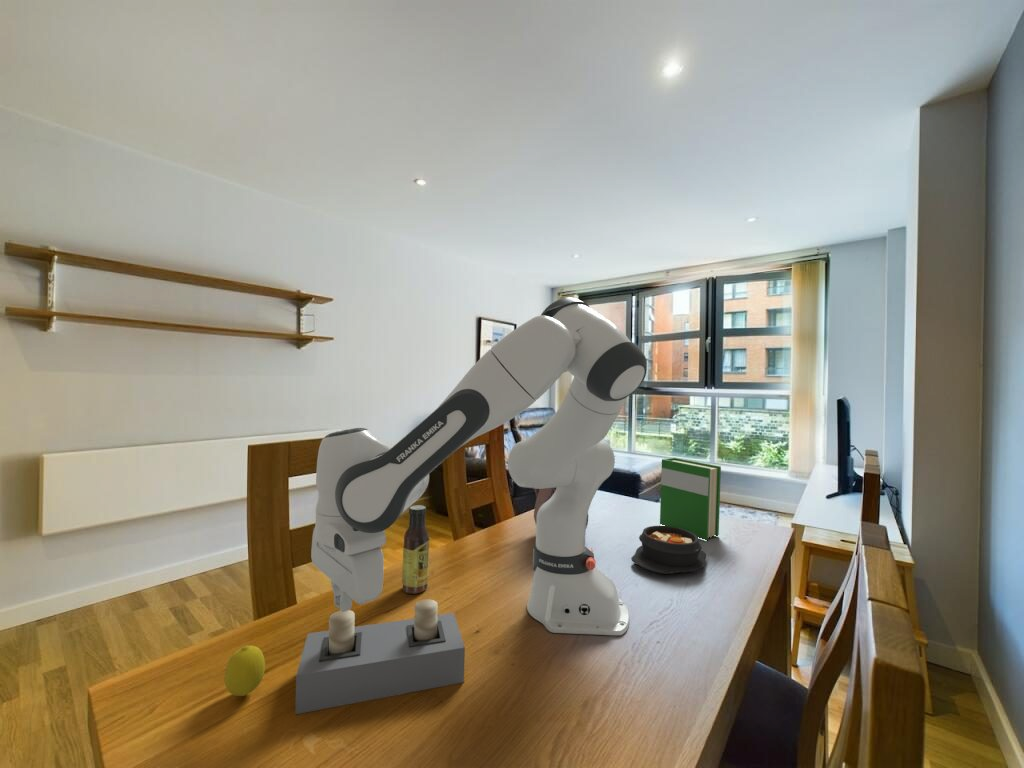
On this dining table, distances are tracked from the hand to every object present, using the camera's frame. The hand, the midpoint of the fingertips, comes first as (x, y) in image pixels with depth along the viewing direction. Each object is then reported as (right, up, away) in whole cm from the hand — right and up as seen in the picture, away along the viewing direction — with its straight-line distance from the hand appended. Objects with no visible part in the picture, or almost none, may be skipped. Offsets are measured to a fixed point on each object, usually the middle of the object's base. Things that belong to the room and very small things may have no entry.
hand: (342, 607), depth 72 cm
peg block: (+6, -13, +3) cm, 15 cm away
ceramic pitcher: (+43, -13, +68) cm, 81 cm away
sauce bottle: (+5, -13, +33) cm, 35 cm away
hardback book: (+90, -14, +77) cm, 119 cm away
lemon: (-15, -13, -3) cm, 20 cm away
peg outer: (0, -8, 0) cm, 8 cm away
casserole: (+73, -14, +51) cm, 91 cm away
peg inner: (+13, -8, +5) cm, 16 cm away
